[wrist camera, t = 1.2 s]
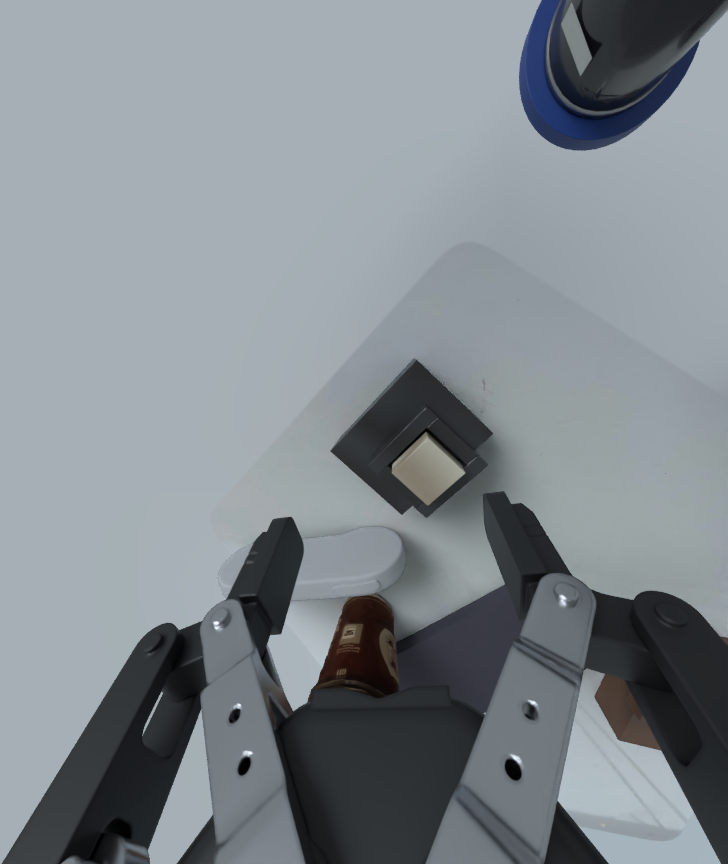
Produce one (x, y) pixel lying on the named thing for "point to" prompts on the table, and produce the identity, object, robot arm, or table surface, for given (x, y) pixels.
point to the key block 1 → (411, 436)
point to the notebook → (463, 650)
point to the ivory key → (427, 468)
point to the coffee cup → (362, 650)
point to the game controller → (337, 565)
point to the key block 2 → (625, 712)
